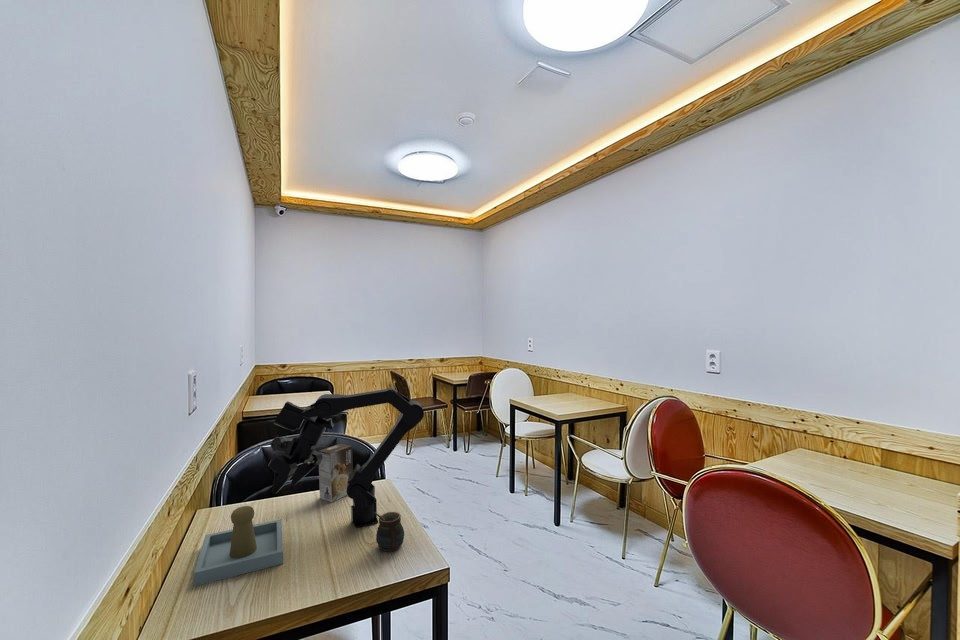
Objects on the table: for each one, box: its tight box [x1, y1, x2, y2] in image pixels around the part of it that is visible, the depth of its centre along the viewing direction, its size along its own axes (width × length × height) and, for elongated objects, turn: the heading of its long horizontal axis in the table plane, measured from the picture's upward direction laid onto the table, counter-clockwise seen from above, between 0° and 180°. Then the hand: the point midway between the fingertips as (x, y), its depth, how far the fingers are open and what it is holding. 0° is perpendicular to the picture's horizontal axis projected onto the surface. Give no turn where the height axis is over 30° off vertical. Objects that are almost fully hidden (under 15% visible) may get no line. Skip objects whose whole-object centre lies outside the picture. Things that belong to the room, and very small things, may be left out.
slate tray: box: [193, 518, 284, 587], centre depth 105 cm, size 18×18×3 cm
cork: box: [230, 505, 257, 558], centre depth 105 cm, size 6×6×11 cm
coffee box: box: [318, 443, 354, 503], centre depth 139 cm, size 9×6×16 cm
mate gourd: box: [374, 511, 405, 552], centre depth 108 cm, size 7×8×10 cm
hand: (283, 488), depth 116 cm, fingers open, 9 cm apart
